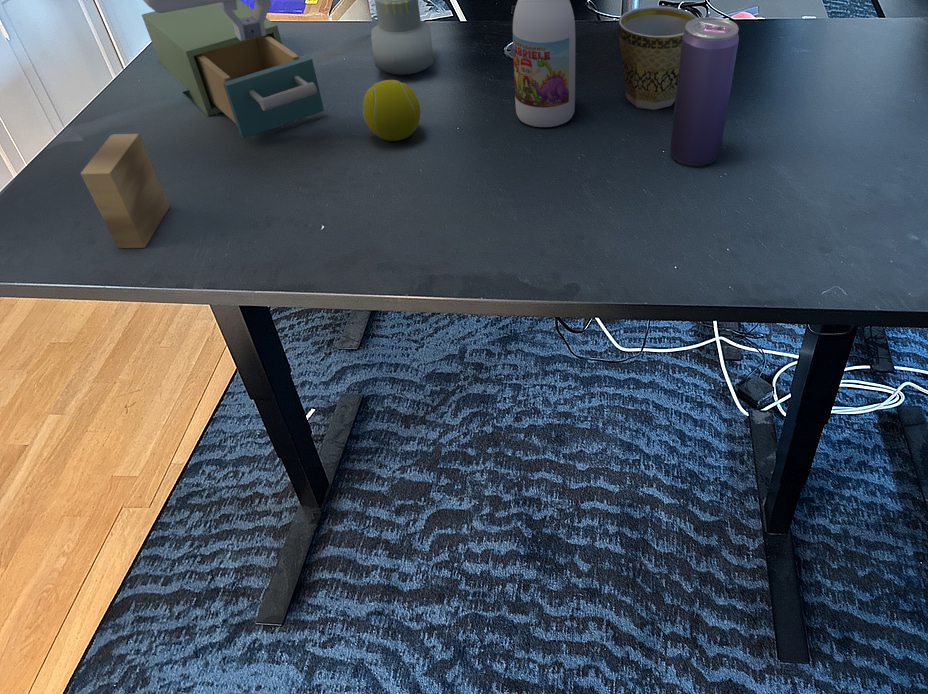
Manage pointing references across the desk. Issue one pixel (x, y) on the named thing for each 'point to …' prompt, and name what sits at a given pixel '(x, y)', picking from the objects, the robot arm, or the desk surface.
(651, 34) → the ceramic cup
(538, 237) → the desk surface
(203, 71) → the drawer
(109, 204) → the wooden block
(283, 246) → the desk surface
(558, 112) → the milk bottle
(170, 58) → the cabinet
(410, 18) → the air freshener
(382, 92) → the tennis ball
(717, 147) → the beverage can
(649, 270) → the desk surface
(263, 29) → the robot arm
